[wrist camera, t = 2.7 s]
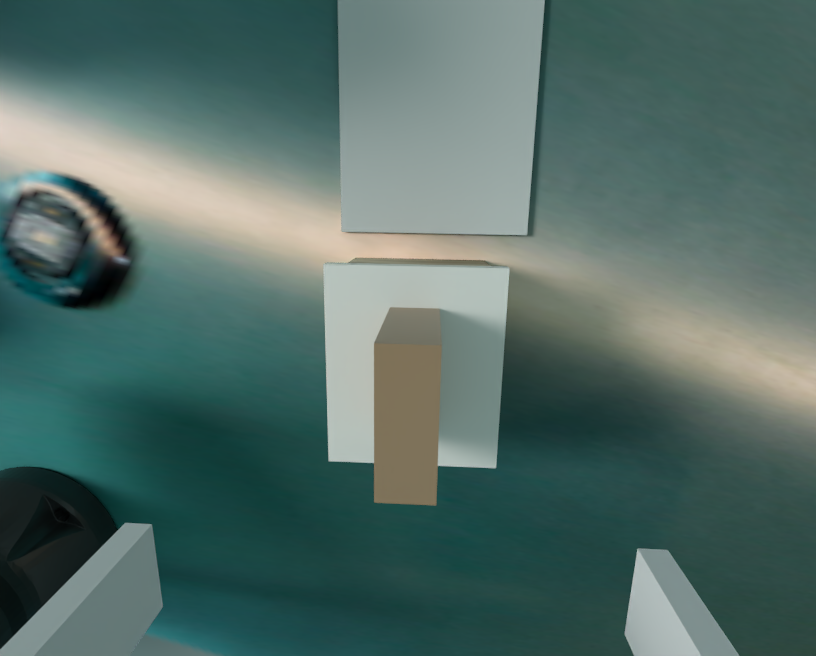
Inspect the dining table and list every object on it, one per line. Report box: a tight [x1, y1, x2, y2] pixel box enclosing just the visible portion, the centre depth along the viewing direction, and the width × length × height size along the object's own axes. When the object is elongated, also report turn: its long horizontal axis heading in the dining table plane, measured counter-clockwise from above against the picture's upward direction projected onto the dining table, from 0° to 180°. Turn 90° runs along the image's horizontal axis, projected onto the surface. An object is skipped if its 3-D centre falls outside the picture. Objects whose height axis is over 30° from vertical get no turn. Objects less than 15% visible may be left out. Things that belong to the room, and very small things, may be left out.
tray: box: [338, 0, 545, 235], centre depth 34 cm, size 16×14×1 cm
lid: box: [323, 262, 510, 505], centre depth 27 cm, size 13×11×10 cm
